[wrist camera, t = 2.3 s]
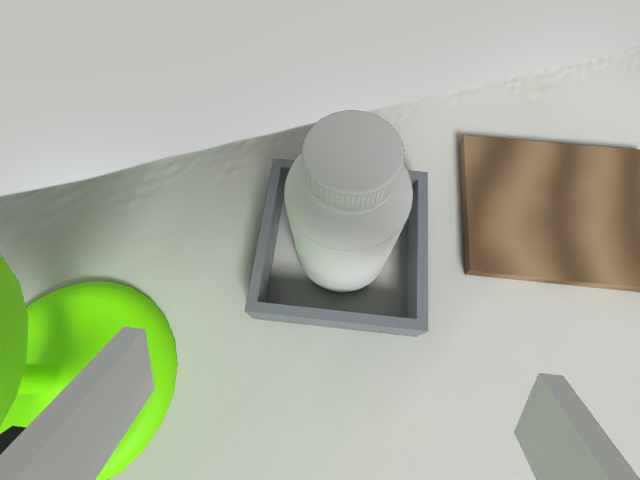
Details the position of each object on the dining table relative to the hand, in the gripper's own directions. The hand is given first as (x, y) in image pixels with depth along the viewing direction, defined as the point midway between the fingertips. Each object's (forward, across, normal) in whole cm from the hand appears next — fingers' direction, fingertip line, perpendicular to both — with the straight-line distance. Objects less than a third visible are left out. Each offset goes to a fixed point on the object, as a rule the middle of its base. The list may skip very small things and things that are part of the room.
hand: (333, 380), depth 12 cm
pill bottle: (+20, 0, -4) cm, 20 cm away
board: (+24, +20, 0) cm, 31 cm away
